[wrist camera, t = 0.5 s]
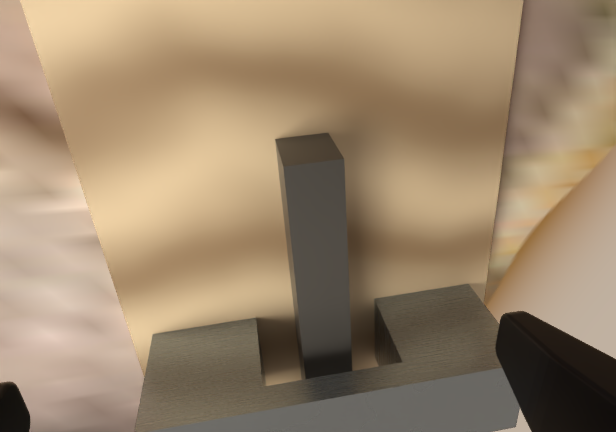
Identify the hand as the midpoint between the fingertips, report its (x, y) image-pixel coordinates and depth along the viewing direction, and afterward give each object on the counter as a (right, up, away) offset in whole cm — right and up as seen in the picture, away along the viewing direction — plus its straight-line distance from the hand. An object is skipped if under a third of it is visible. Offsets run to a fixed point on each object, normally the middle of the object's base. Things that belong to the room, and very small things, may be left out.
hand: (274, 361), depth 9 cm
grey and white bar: (+1, -2, +15) cm, 15 cm away
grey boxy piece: (+1, -4, +16) cm, 16 cm away
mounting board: (+1, +2, +15) cm, 15 cm away
